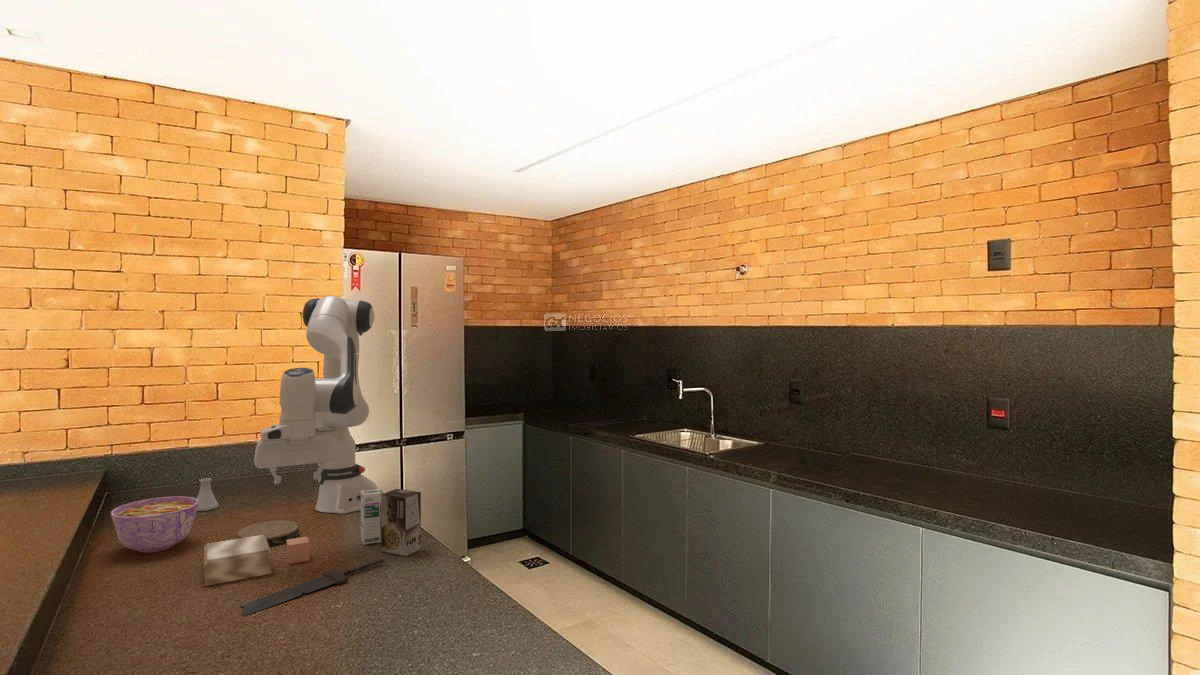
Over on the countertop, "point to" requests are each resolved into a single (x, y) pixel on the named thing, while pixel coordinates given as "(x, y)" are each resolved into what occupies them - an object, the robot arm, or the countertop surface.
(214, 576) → the cream square block
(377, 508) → the syrup box
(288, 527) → the brown flat disc
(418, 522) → the brown printed carton
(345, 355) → the robot arm
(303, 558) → the terracotta cube
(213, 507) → the flask
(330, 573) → the flat dark sword
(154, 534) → the bowl of food
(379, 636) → the countertop surface
